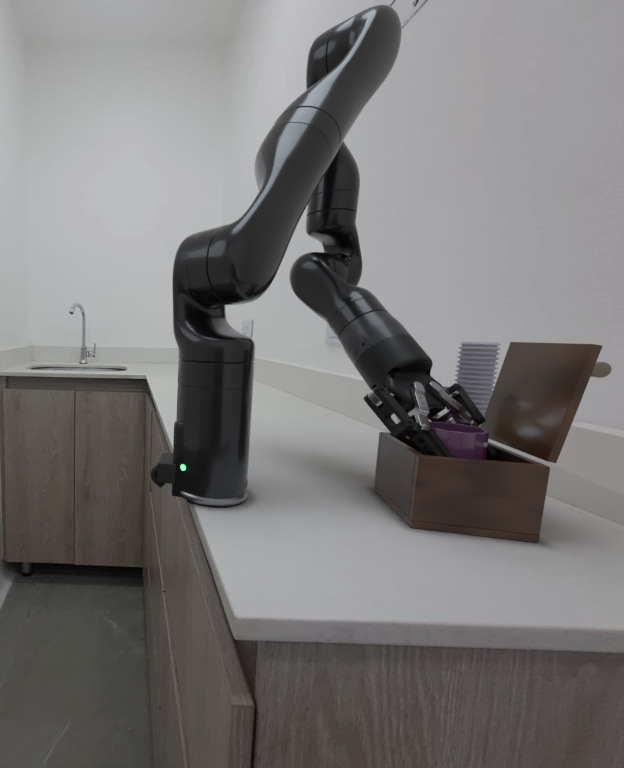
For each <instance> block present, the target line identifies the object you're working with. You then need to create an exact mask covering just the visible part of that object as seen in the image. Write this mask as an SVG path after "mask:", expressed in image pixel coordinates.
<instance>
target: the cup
mask: <svg viewBox="0 0 624 768" xmlns="http://www.w3.org/2000/svg"><path fill="white" fill-rule="evenodd" d="M429 423H430V426H431V430H429V432H430V431H434V432H435V433H436V435H437V436H438V437H439V438H440V440H441V441H442V442H443V444H444V445H445V446H446V448H447V449H448V450H449V452H450V453H451V454H452V456H453V457H454V458H467V459H479V460H486V453H487V445H488V442H489V439H488V438H489V431H488V430H485V429H483V428H479V427H475V426H470V425H464V424H458V423H449V422H432V421H429ZM419 452H420V453H421V454H422V452H421V451H420V450H419Z"/></svg>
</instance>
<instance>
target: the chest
mask: <svg viewBox="0 0 624 768" xmlns="http://www.w3.org/2000/svg"><path fill="white" fill-rule="evenodd" d="M488 444H489V445H490V446H491V447H492V449H493V450H494V451H495V452H496V454H497V458H496V459H494V460H479V459H467V458H454V457H441V456H429V455H423V454H421V453H420V452H419V448H418V447H417V445H416V444H415V442H414V441H411V440H409V439H407V438H406V436H403V435H400V436H399V437H395V436H394V435H392V434H391V433H390V431H389V432H388V431H379V433H378V444H377V452H376V462H375V472H374V475H375V476H374V484H373V491H374V492H376V493H377V494H378V495H379V496H380V497H381V498H382V500H383V501H384V502H385V503H386V504H387V505H388V506H390V508H392V510H393V511H394V512H395V513H396V514H397V515H398V516H399V517H400V519H402V520H403V521H404V522H405V523H406V524H407V525H408V526H409V527H410V529H411V528H412V529H421V530H428V531H438V532H445V533H454V534H461V535H462V534H463V535H470V536H479V537H486V538H495V539H503V540H510V541H511V540H512V541H520V542H530V543H539V542H540V535H541V528H542V522H543V516H544V510H545V504H546V497H547V491H548V485H549V478H550V472H551V467H550V466H549V465H546V464H544V463H542V462H539V461H536V460H534V459H531V458H530V457H527V456H524V455H522V454H519V453H517V452H514V451H512V450H509V449H507V448H504V447H503V446H499V445H497V444H494V443H492V442H490V441H488Z"/></svg>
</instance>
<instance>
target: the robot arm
mask: <svg viewBox="0 0 624 768" xmlns="http://www.w3.org/2000/svg"><path fill="white" fill-rule="evenodd" d="M401 43H402V23H401V19H400V16H399V14H398V12H397V10H395V8H393V7H392V6H390V5H387V4H378V5H373V6H370V7H368V8H365V9H363V10H362V11H360V12H358V13H356V14H354V15H353V16H350V17H349V18H347V19H345V20H344V21H342V22H340V23H338V24H336V25H334V26H332V27H330V28H328V29H327V30H325V31H324V32H322V33H320V35H318V36H317V37H316V38H315V39H314V40H313V42H312V44H311V46H310V48H309V51H308V55H307V60H306V71H305V73H306V74H305V87H306V89H305V91H303V93H302V94H300V95H299V96H298V97H297V98H296V99H295V100H293V102H291V103H290V104H289V105H288V106H287V107H286V108H285V109H284V110H283V111H282V113H281V114H280V115H279V116H278V118H277V119H276V120H275V121H274V123H273V125H272V127H271V128H270V129H269V131H268V132H267V134H266V135H265V137H264V138H263V140H262V142H261V144H260V146H259V147H258V150H257V153H256V155H255V158H254V159H255V160H254V177H255V178H254V179H255V182H256V186H257V189H258V193H257V195H256V196H255V197H254V199H253V200H252V202H251V204H250V205H249V207H248V208H247V209H246V211H244V213H243V214H242V215H241V216H240V217H238V219H236V220H234V221H233V222H231V223H228V224H224V225H219V226H216V227H213V228H208V229H205V230H201V231H198V232H194V233H192V234H190V235H188V236H186V237H185V238H184V239H183V240H181V242H180V244H179V245H178V247H177V249H176V252H175V255H174V259H173V265H172V278H171V282H172V283H171V284H172V285H171V287H172V289H171V290H172V329H173V335H174V339H175V342H176V345H177V348H178V363H177V365H178V366H177V389H176V390H177V391H176V392H177V395H176V420H175V421H174V424H173V446H172V447H173V449H172V452H162V454H161V456H160V457H159V460H158V462H157V464H156V465H155V466H154V467H153V468H152V469H151V471H150V479H151V481H152V482H153V483H154V484H155V485H156V486H157V487H158V488H160V489H161V488H162V487H164V486H165V485H166V484H171V496H172V497H176V498H181V499H184V500H186V501H188V502H190V503H194V504H199V505H204V506H211V507H225V506H227V507H228V506H234V505H235V506H236V505H238V504H241V503H243V502H245V501H246V500H247V498H248V491H249V489H248V484H249V479H248V477H249V462H250V445H251V444H250V443H251V442H250V441H251V429H252V427H251V426H252V412H253V411H252V410H253V394H254V377H255V361H256V360H255V359H256V358H255V357H256V343H255V341H254V339H253V338H252V337H250V336H248V335H246V334H244V333H242V332H239V331H238V330H236V329H235V328H234V327H232V325H231V324H230V323H229V322H228V320H227V311H226V306H236V305H237V306H238V305H245V304H249V303H252V302H255V301H257V300H259V299H260V298H261V297H262V296H264V294H265V293H266V292H267V291H268V290H269V288H270V286H271V285H272V283H273V281H274V280H275V277H276V275H277V274H278V271H279V269H280V267H281V265H282V263H283V259H284V258H285V254H286V253H287V250H288V248H289V245H290V243H291V240H292V239H293V236H294V233H295V231H296V229H297V226H298V224H299V222H300V221H301V218H302V216H303V215H304V212H305V210H306V217H305V233H306V235H307V236H309V237H310V238H312V239H314V240H316V241H318V242H319V243H320V244H321V246H322V249H323V251H311V252H310V251H309V252H306V253H303V254H301V255H300V256H299V257H297V258H296V259H295V260H294V262H293V263H292V265H291V267H290V270H289V284H290V288H291V290H292V292H293V293H294V295H295V296H296V297H297V299H298V300H299V301H301V302H302V303H303V304H304V305H305V306H306V307H307V308H308V309H309V310H311V311H312V312H313V313H314V314H315V315H317V316H318V317H320V318H321V319H322V320H324V322H326V324H328V326H329V327H330V329H331V331H332V332H333V334H334V335H335V336H336V338H337V340H338V341H339V342H340V344H341V346H342V348H343V350H344V353H345V354H346V356H347V358H348V359H349V360H350V362H351V363H352V365H353V366H354V368H355V369H356V370H357V372H358V373H359V375H360V376H361V378H362V379H363V381H364V382H365V383H366V385H367V386H368V388H369V389H370V391H369V392H368V393H367V394H365V396H363V401H364V402H365V403H366V405H367V406H368V407H369V408H370V409H371V411H372V412H373V413H374V414H375V416H376V417H377V418H378V419H379V420H380V422H381V423H382V424H383V425H384V427H385V428H386V429H387V430H388V431H389V433H391V434H392V435H394V436H395V437H399V436H400V435H403V436H406V438H407V439H409V440H411V441H414V442H415V444H416V445H417V447H418V448H419V450H420V451H421V452H422V454H423V455H429V456H441V457H453V456H452V454H451V453H450V452H449V450H448V449H447V448H446V446H445V445H444V444H443V442H442V441H441V440H440V438H439V437H438V436H437V435H436V433H435V432H434V431H430V432H429V430H431V426H430V423H429V422H449V423H453V422H451V421H450V420H451V419H454V421H455V422H456V423H458V424H464V425H470V426H475V427H478V426H479V425H480V424H482V423H484V422H486V420H485V418H484V417H483V415H482V414H481V413H480V411H479V410H478V408H477V407H476V406H475V404H474V403H473V401H472V400H471V399H470V397H469V396H468V394H467V393H466V392H465V390H464V389H463V387H462V386H461V385H459V384H457V382H455V383H453V384H452V385H450V386H443V385H442V384H441V382H439V381H438V380H436V379H435V378H434V377H433V376H432V375H431V370H432V368H433V365H434V364H433V363H434V362H433V359H432V358H431V357H430V356H429V354H428V353H427V351H425V349H423V348H422V346H420V344H419V343H418V341H416V339H415V338H414V337H413V336H412V335H411V333H410V331H408V329H407V328H406V327H405V326H404V325H403V324H402V323H401V322H400V321H399V320H398V319H397V318H395V317H394V316H393V315H392V314H391V313H390V312H389V310H387V309H386V307H385V306H384V305H383V303H382V302H381V301H380V300H379V299H378V297H376V296H375V294H374V293H373V292H371V290H369V289H367V288H365V287H362V286H361V287H360V286H359V284H360V281H361V278H362V274H363V255H362V251H361V244H360V237H359V232H358V228H357V222H356V221H357V214H358V206H359V198H360V189H361V177H360V176H361V174H360V170H359V166H358V163H357V162H356V159H355V157H354V154H352V152H351V150H350V149H349V147H348V146H347V144H346V143H345V139H346V137H347V135H348V134H349V132H350V131H351V129H352V127H353V126H354V125H355V122H356V121H357V120H358V118H359V116H360V115H361V113H362V111H363V110H364V108H365V107H366V105H367V104H368V103H369V102H370V100H371V99H372V97H373V96H374V95H375V94H376V92H377V91H378V90H379V89H380V87H382V85H383V83H384V82H385V81H386V79H387V78H388V76H389V75H390V74H391V72H392V70H393V68H394V66H395V63H396V60H397V58H398V55H399V52H400V49H401V48H400V47H401ZM444 410H447V411H446V412H444V413H442V414H440V413H441V412H442V411H444ZM466 411H468V413H469V414H470V416H471V417H470V416H468V415H467V414H466V413H465V412H466ZM393 415H395V417H396V420H397V422H395V420H393V418H392V416H393ZM496 458H497V454H496V452H495V451H494V450H493V449H492V447H491V446H490V445H489V444H488V445H487V453H486V460H494V459H496Z"/></svg>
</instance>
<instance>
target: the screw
mask: <svg viewBox="0 0 624 768" xmlns="http://www.w3.org/2000/svg"><path fill="white" fill-rule="evenodd" d="M459 345H461V346H459V347H458V349H459V350H460V351H457V354H459V355H458V356H457V359H459V360H457V361H456V363H457V364H458V365H455V366H456V368H458V369H456V370H455V372H456V374H454V376H455V377H457V378H455V379H454V382H456V383H457V384H459V385H461V386H462V387H463V389H464V390H465V392H466V393H467V394H468V396H469V397H470V399H471V400H472V401H473V403H474V404H475V406H476V407H477V408H478V410H479V411H480V413H481V414H482V415H483V417H484V415H485V412H486V410H487V407H488V404H489V401H490V398H491V396H492V393H493V390H494V387H495V384H496V381H494V380H497V379H498V376H497V377H496V375H497V374H498V375H499V373H498V372H497V371H495V370H499V367H497V365H499V364H500V363H499V362H497V361H498V360H500V359H501V358H500V357H497V356H499V355H501V353H500V352H498V351H500V350H501V349H502V348H501V347H498V346H501V345H502V344H501V343H500V342H499V341H498V342H497V341H461V342H460V343H459ZM465 413H466V414H467V415H468V416H470V414H469V413H468V411H466V412H465ZM470 417H471V416H470ZM449 420H450V421H451V422H453V423H456V422H455V421H454V419H453V418H450V419H449ZM478 427H479V428H480V427H481V424H480V425H479V426H478Z"/></svg>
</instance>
